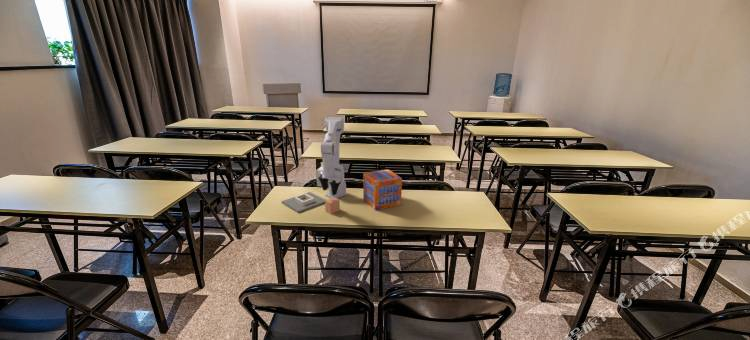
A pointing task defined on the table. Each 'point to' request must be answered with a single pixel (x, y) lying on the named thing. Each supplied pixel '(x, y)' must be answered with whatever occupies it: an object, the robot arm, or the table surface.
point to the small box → (319, 176)
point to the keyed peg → (332, 205)
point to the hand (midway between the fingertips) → (329, 192)
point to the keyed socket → (303, 202)
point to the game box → (382, 189)
